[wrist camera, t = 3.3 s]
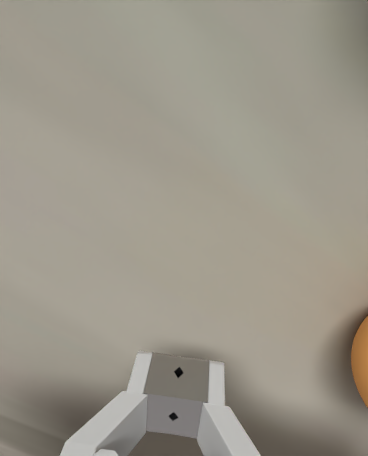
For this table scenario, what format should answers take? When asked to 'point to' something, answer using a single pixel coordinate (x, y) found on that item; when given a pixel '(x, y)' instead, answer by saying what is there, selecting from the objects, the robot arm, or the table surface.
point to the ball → (361, 360)
